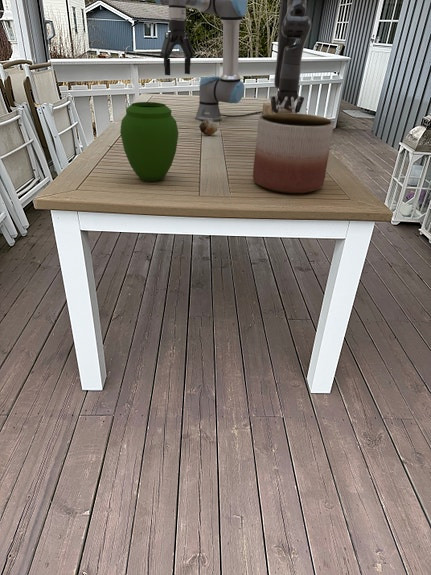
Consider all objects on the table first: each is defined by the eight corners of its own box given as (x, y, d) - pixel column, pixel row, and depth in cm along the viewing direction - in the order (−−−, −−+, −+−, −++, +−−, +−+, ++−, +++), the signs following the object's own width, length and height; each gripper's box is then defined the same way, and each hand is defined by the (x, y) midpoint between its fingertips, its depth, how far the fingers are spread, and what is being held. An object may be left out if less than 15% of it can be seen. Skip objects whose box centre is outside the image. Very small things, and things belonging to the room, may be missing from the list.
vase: (131, 189, 135) (125, 110, 122) (118, 172, 150) (112, 100, 137) (186, 184, 142) (187, 109, 129) (169, 168, 157) (167, 99, 144)
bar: (260, 125, 187) (263, 103, 182) (270, 125, 188) (273, 103, 183) (280, 137, 167) (283, 112, 162) (290, 137, 168) (294, 113, 163)
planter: (334, 195, 139) (348, 127, 128) (262, 196, 135) (270, 126, 123) (308, 173, 160) (318, 112, 149) (245, 173, 156) (250, 111, 145)
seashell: (216, 134, 214) (217, 117, 210) (218, 136, 209) (218, 119, 205) (198, 133, 213) (198, 117, 208) (199, 136, 208) (199, 119, 204)
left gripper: (163, 18, 168) (164, 76, 180) (202, 21, 185) (200, 74, 197) (150, 18, 172) (152, 74, 183) (189, 21, 189) (189, 72, 200)
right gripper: (275, 77, 154) (270, 125, 163) (310, 78, 157) (303, 125, 166) (269, 75, 160) (264, 121, 169) (303, 76, 163) (296, 122, 172)
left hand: (177, 74), depth 190 cm, fingers open, 13 cm apart
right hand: (284, 123), depth 168 cm, fingers closed on bar, 4 cm apart
